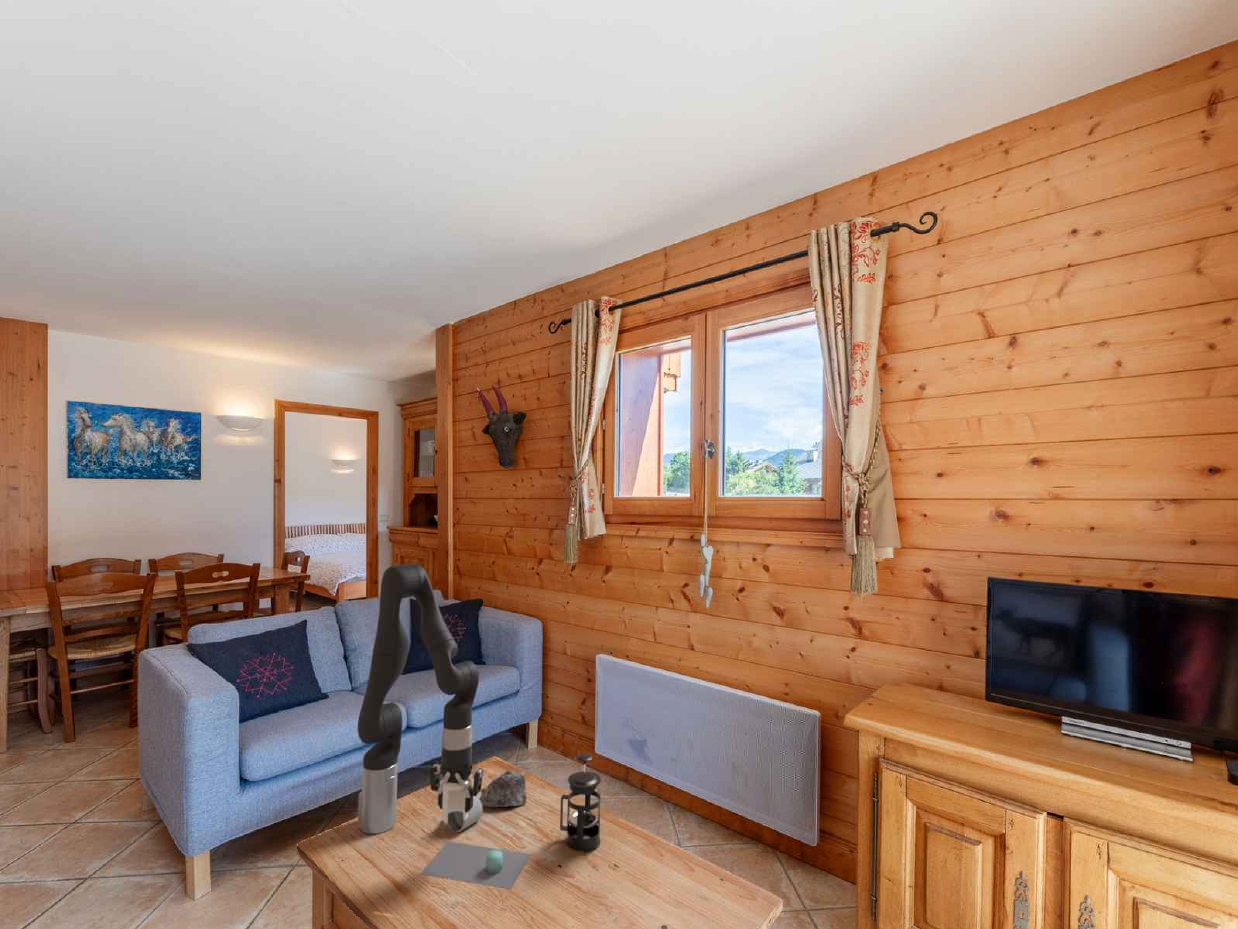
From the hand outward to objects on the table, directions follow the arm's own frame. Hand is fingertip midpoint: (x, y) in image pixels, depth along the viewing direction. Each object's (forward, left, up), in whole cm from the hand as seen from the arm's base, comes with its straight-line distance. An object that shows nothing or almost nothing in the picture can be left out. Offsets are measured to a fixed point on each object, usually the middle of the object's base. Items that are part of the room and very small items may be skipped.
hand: (455, 809), depth 152 cm
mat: (+6, +1, -14) cm, 15 cm away
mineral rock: (+1, +31, -14) cm, 34 cm away
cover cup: (0, 0, -2) cm, 2 cm away
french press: (+29, +17, -14) cm, 36 cm away
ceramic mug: (-7, +17, -14) cm, 23 cm away
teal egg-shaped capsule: (+11, 0, -13) cm, 17 cm away
